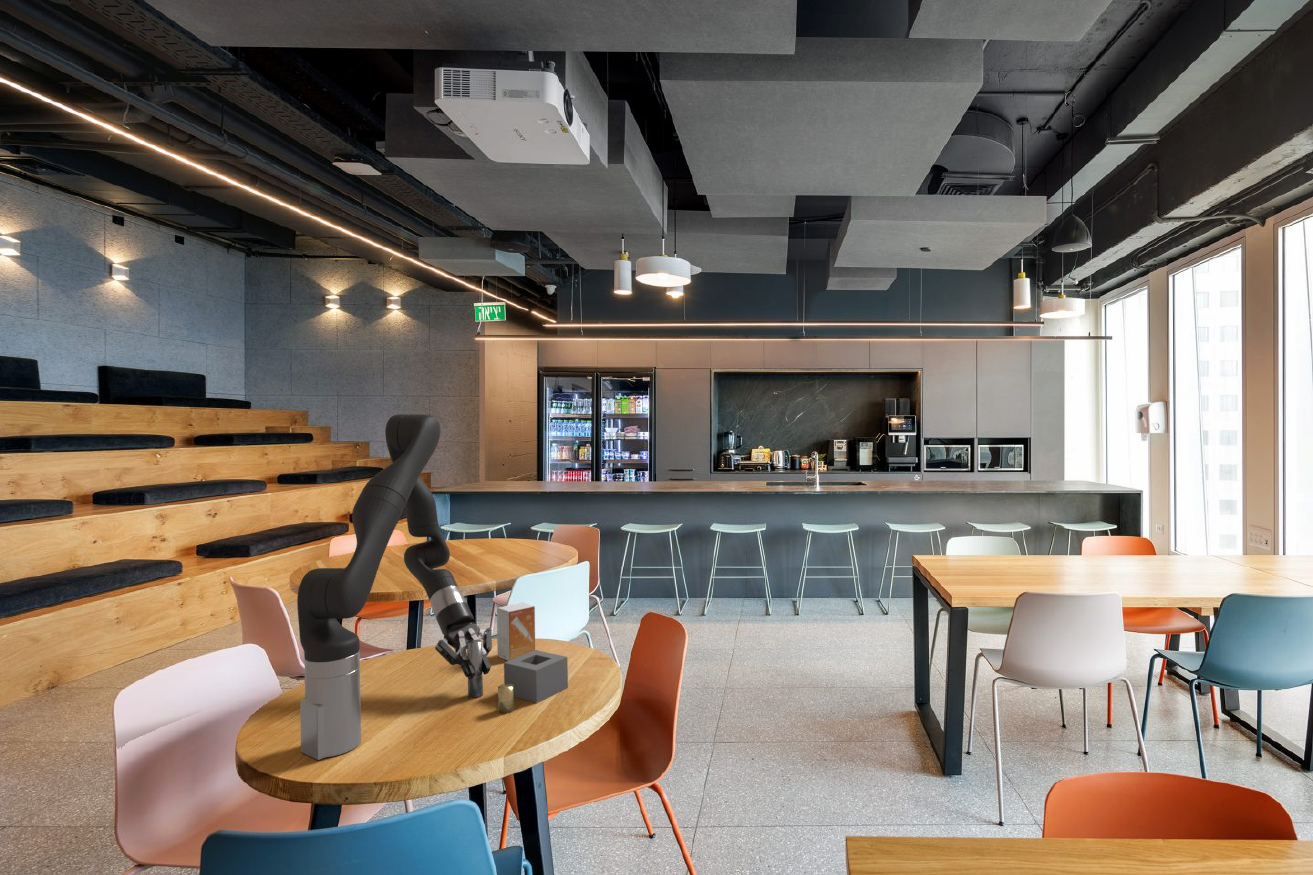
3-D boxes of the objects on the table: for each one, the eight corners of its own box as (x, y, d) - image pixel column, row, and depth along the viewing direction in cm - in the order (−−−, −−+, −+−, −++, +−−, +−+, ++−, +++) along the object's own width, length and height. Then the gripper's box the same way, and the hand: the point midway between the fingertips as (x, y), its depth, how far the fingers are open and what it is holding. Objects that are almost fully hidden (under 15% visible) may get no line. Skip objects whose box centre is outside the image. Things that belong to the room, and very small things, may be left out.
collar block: (536, 702, 135) (536, 670, 136) (504, 693, 141) (503, 662, 141) (568, 687, 144) (567, 656, 144) (536, 679, 149) (535, 649, 149)
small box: (509, 662, 162) (508, 611, 162) (497, 656, 167) (496, 607, 167) (536, 654, 168) (535, 605, 168) (523, 649, 172) (522, 601, 172)
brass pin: (505, 714, 130) (505, 690, 130) (495, 711, 132) (494, 687, 132) (517, 709, 133) (516, 685, 133) (506, 706, 134) (506, 682, 134)
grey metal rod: (474, 699, 138) (473, 644, 138) (465, 696, 140) (463, 642, 140) (486, 694, 141) (484, 640, 141) (476, 691, 143) (475, 638, 143)
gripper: (428, 607, 141) (456, 674, 132) (483, 595, 151) (513, 656, 142) (417, 626, 144) (444, 693, 136) (472, 613, 155) (501, 674, 146)
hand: (479, 674), depth 139 cm, fingers closed on grey metal rod, 3 cm apart
